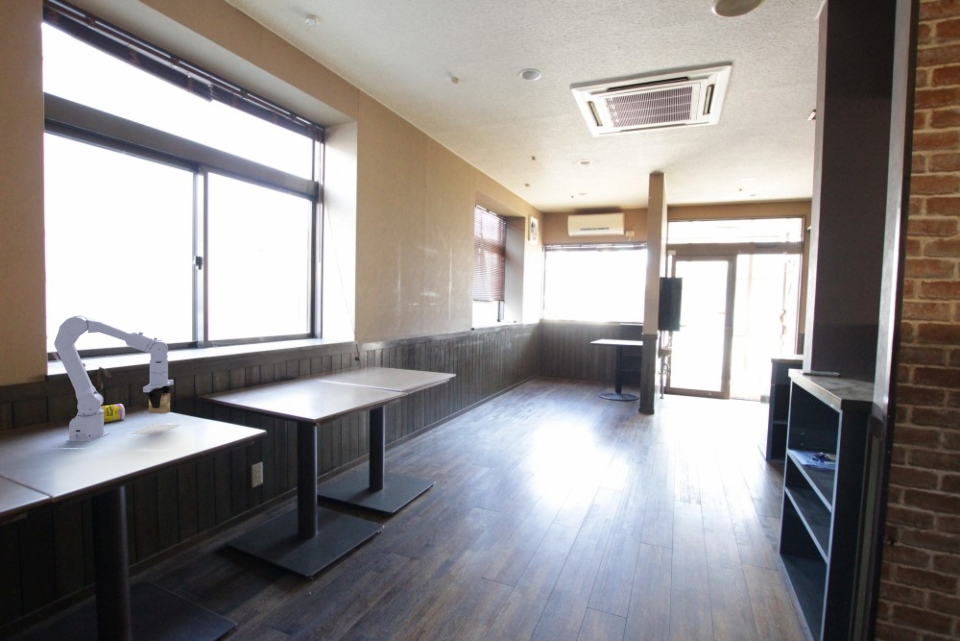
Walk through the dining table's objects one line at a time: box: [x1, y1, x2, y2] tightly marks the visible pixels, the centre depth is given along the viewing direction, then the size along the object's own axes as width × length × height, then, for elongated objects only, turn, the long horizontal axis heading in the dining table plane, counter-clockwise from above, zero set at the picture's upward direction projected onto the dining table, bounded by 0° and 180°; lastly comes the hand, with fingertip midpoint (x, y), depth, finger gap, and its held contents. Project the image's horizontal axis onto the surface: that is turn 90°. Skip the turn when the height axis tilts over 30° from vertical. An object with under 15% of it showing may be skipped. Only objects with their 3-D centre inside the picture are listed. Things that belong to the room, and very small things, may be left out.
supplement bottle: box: [101, 403, 126, 424], centre depth 178 cm, size 7×7×13 cm
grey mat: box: [130, 423, 181, 435], centre depth 172 cm, size 12×11×1 cm
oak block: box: [148, 393, 171, 415], centre depth 172 cm, size 3×6×7 cm, turn 93°
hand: (158, 406), depth 172 cm, fingers closed on oak block, 3 cm apart
